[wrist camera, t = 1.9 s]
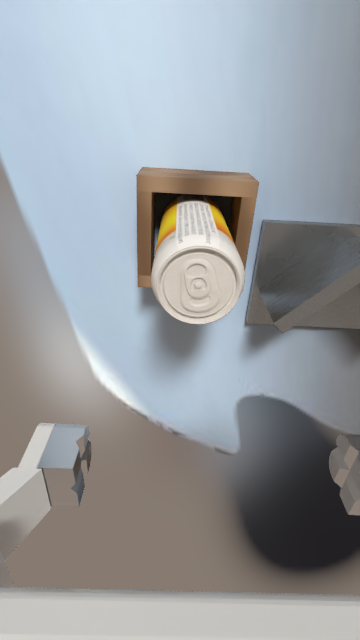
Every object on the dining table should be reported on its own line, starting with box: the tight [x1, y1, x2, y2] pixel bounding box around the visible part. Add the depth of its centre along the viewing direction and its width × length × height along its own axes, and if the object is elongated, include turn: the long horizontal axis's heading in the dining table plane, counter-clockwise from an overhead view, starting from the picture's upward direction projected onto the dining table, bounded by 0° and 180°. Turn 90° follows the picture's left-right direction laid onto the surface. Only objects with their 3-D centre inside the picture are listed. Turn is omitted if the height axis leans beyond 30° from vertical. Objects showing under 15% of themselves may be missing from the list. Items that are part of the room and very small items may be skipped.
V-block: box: [246, 220, 360, 333], centre depth 34 cm, size 16×12×8 cm
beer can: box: [151, 194, 245, 324], centre depth 28 cm, size 6×6×15 cm
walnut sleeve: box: [137, 167, 259, 288], centre depth 32 cm, size 10×10×5 cm
